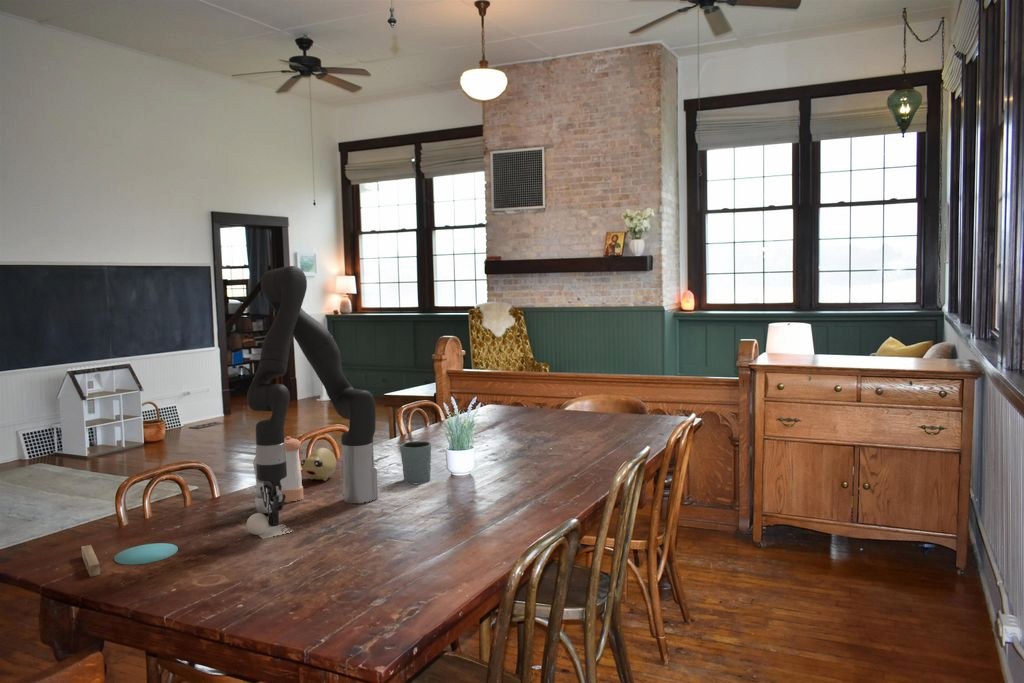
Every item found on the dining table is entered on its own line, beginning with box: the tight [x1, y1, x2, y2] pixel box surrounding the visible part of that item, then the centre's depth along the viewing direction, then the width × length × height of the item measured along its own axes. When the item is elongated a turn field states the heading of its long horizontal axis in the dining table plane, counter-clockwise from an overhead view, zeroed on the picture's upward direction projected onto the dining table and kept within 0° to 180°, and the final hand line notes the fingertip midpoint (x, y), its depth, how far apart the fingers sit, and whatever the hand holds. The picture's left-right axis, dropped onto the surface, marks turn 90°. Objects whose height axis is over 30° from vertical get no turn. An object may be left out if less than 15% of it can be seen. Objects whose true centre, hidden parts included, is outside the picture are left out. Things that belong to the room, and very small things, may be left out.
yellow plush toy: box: [300, 447, 337, 482], centre depth 252 cm, size 10×12×11 cm
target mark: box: [113, 542, 179, 566], centre depth 186 cm, size 14×14×1 cm
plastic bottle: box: [252, 455, 269, 514], centre depth 217 cm, size 6×7×20 cm
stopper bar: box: [81, 544, 101, 578], centre depth 179 cm, size 2×16×2 cm, turn 35°
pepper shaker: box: [280, 435, 304, 503], centre depth 230 cm, size 7×7×19 cm
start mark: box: [258, 523, 293, 540], centre depth 201 cm, size 8×8×1 cm
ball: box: [246, 512, 270, 536], centre depth 199 cm, size 6×6×6 cm
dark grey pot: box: [399, 440, 432, 484], centre depth 249 cm, size 10×10×12 cm
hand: (273, 525), depth 200 cm, fingers closed
